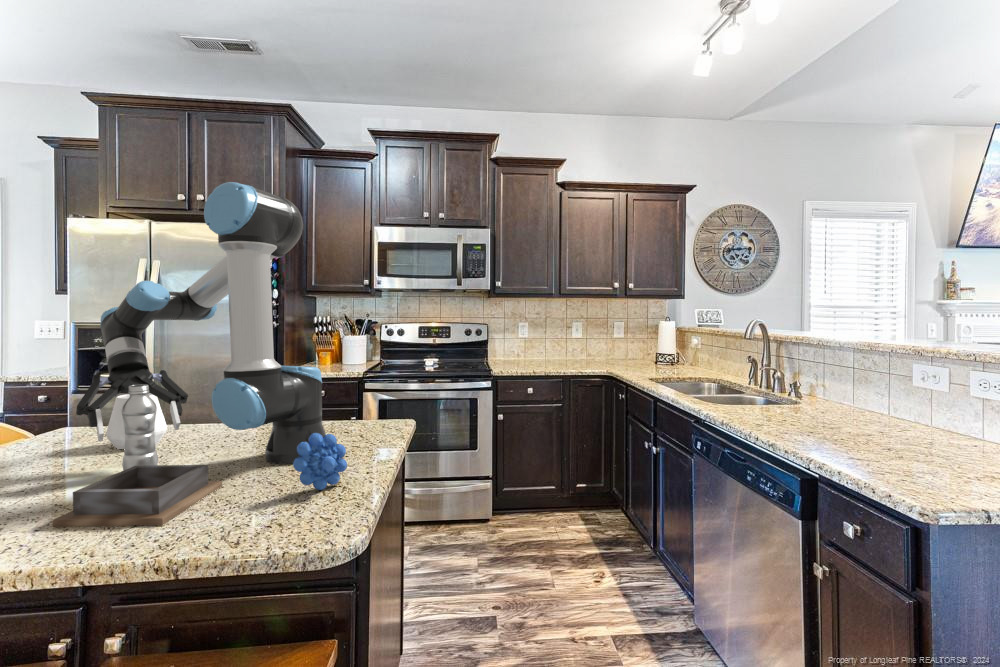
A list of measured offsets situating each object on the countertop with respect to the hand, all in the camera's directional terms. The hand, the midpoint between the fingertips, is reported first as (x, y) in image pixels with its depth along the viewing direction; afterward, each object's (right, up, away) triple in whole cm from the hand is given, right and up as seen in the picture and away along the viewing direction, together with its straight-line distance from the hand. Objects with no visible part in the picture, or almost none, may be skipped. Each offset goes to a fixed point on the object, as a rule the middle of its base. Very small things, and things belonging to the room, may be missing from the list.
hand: (141, 431), depth 103 cm
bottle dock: (+13, -10, -16) cm, 23 cm away
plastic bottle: (-1, -10, +2) cm, 10 cm away
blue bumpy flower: (+44, -10, -9) cm, 46 cm away
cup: (-20, -9, +25) cm, 34 cm away
